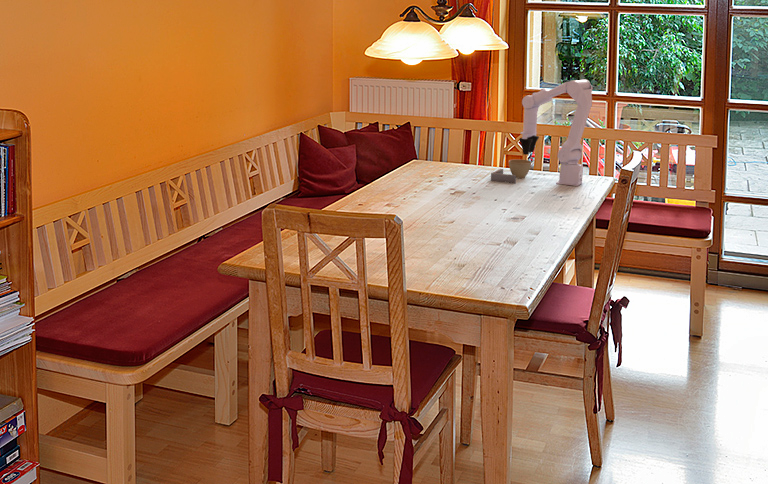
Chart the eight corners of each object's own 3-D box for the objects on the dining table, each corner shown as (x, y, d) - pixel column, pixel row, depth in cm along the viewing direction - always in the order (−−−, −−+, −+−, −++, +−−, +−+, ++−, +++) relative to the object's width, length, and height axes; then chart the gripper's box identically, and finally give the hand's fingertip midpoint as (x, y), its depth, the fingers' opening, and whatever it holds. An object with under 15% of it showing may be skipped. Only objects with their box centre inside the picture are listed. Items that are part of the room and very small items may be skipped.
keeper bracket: (523, 179, 365) (524, 171, 364) (514, 183, 354) (515, 175, 353) (500, 176, 370) (500, 168, 369) (490, 181, 359) (491, 173, 358)
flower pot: (503, 176, 371) (504, 160, 369) (522, 174, 375) (523, 158, 373) (515, 180, 362) (516, 163, 360) (534, 178, 366) (536, 162, 365)
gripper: (526, 120, 374) (524, 150, 378) (516, 123, 362) (514, 154, 365) (541, 121, 371) (539, 151, 375) (531, 125, 359) (530, 156, 362)
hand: (528, 153), depth 370 cm, fingers open, 7 cm apart
